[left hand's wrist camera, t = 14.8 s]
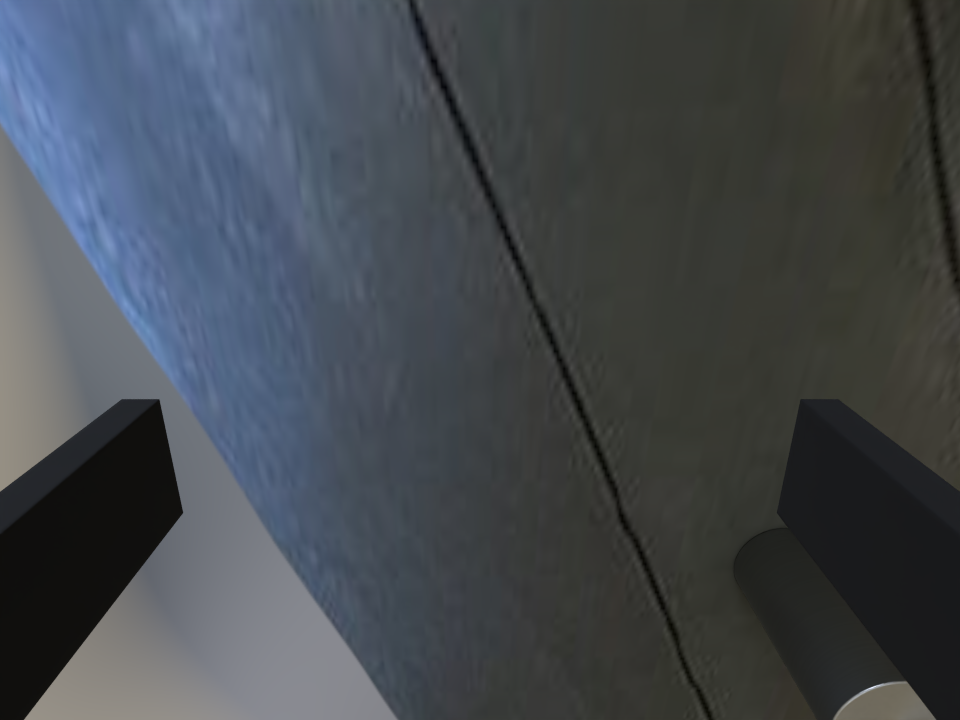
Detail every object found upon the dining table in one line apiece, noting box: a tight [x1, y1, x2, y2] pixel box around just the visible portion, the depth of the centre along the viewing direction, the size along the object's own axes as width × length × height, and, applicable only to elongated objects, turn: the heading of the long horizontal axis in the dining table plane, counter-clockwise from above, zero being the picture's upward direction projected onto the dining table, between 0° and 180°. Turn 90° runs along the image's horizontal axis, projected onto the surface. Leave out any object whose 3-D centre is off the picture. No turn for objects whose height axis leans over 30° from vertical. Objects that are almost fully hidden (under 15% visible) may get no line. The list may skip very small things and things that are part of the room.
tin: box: [734, 529, 936, 720], centre depth 34 cm, size 6×6×12 cm
